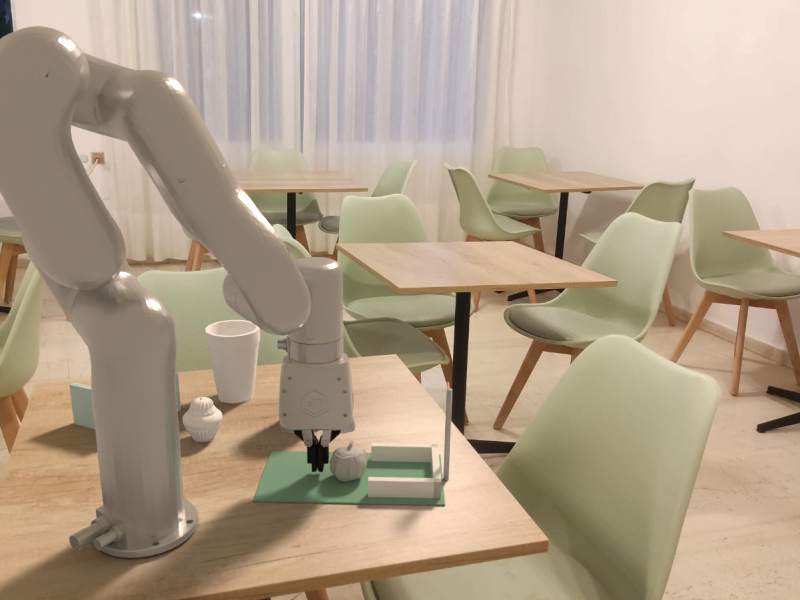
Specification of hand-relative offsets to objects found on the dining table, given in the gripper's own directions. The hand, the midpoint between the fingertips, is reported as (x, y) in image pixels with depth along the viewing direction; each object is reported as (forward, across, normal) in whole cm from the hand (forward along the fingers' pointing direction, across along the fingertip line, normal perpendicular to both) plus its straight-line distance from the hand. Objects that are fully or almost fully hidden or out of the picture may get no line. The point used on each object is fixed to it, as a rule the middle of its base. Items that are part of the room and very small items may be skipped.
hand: (318, 467), depth 106 cm
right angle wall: (+2, -34, +19) cm, 39 cm away
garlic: (+2, +4, 0) cm, 5 cm away
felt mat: (+2, +5, 0) cm, 5 cm away
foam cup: (+2, -18, +28) cm, 33 cm away
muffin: (+2, -20, +11) cm, 23 cm away
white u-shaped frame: (+2, +13, 0) cm, 13 cm away
